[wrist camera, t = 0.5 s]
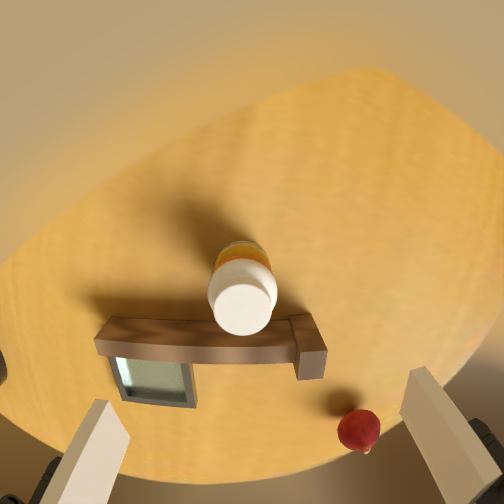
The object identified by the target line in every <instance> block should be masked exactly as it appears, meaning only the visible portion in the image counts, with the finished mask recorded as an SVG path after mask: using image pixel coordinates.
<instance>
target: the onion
mask: <svg viewBox="0 0 504 504" xmlns="http://www.w3.org/2000/svg"><path fill="white" fill-rule="evenodd" d="M337 431H338V437H339V440H340V442H341V443H342V444H343V445H344V446H345V447H347V448H348V449H351V450H355V451H362V452H363V453H364V454H367V453H368V452H369V451H370V449H371V447H372V446H373V445H374V444H375V443H376V441H377V439H378V438H379V435H380V421H379V419H378V418H377V416H376V415H375V414H374V413H373V412H371V411H368V410H352V411H350V412H348V414H347V415H346V416H344V417H343V419H342V420H341V421H340V423H339V425H338V430H337Z"/></svg>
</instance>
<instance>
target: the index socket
mask: <svg viewBox="0 0 504 504" xmlns="http://www.w3.org/2000/svg"><path fill="white" fill-rule="evenodd" d="M108 357H109V361H110V364H111V368H112V371H113V374H114V377H115V380H116V383H117V386H118V389H119V392H120V395H121V398H122V401H129V402H136V403H143V404H151V405H160V406H170V407H183V408H196V407H197V401H198V400H197V393H196V387H195V380H194V373H193V366H192V363H175V362H160V361H147V360H136V359H127V358H118V357H110V356H108Z"/></svg>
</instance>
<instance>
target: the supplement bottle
mask: <svg viewBox="0 0 504 504" xmlns="http://www.w3.org/2000/svg"><path fill="white" fill-rule="evenodd" d="M208 301H209V304H210V306H211V308H212V310H213V313H214V317H215V319H216V321H217V323H218V324H219V325H220V326H221V328H223V329H224V330H225V331H227V332H229V333H231V334H235V335H241V336H245V335H251V334H254V333H256V332H258V331H260V330H261V329H263V328H264V327H265V326H266V325H267V323H268V322H269V320H270V318H271V314H272V310H273V308H274V306H275V304H276V301H277V285H276V281H275V278H274V274H273V271H272V267H271V264H270V260H269V258H268V256H267V254H266V252H265V251H264V250H263V249H262V248H261V247H260V246H258V245H257V244H255V243H252V242H249V241H237V242H233V243H231V244H229V245H227V246H226V247H224V248H223V249H222V250H221V251H220V253H219V254H218V256H217V259H216V261H215V265H214V268H213V272H212V275H211V278H210V281H209V285H208Z"/></svg>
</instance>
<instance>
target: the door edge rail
mask: <svg viewBox="0 0 504 504" xmlns="http://www.w3.org/2000/svg"><path fill="white" fill-rule="evenodd" d="M94 342H95V345H96V349H97V352H98V355H102V356H110V357H118V358H127V359H136V360H147V361H160V362H175V363H195V364H276V363H293V365H294V369H295V373H296V377H297V380H309V379H321V378H323V376H324V370H325V364H326V358H327V351H328V350H327V348H326V346H325V343H324V341H323V339H322V337H321V335H320V332H319V330H318V328H317V326H316V324H315V321H314V319H313V317H312V315H311V314H304V315H289V320H273V321H269V322H268V323H267V325H266V326H265V327H264V328H263V329H261V330H260V331H258V332H256V333H254V334H251V335H245V336H241V335H235V334H231V333H229V332H227V331H225V330H224V329H223V328H221V326H220V325H219V324H218V323H217V321H188V320H159V319H139V318H123V317H111V318H110V320H109V321H108V322H107V323H106V324H105V326H104V327H103V328H102V329H101V330H100V332H99V333H98V334H97V335H96V337H95V338H94Z"/></svg>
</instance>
